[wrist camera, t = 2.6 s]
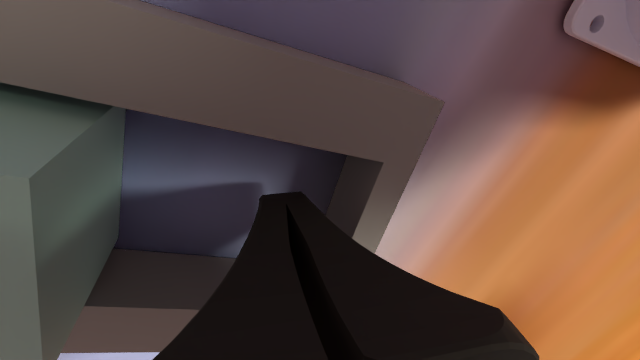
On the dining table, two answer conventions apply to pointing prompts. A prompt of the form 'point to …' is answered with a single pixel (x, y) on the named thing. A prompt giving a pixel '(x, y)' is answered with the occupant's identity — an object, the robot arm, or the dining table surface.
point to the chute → (216, 111)
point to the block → (54, 213)
